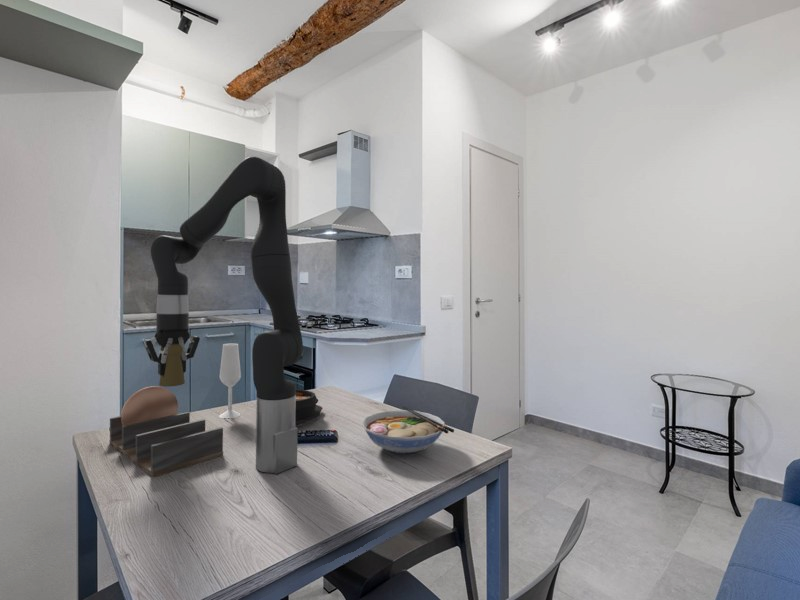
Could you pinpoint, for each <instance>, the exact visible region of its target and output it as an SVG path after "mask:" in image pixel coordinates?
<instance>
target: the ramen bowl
mask: <svg viewBox="0 0 800 600" xmlns="http://www.w3.org/2000/svg"><path fill="white" fill-rule="evenodd" d="M402 408H403V409H395V410H384V411H379V412H374V413H372V414H370V415H368V416H366V417H364V418H363V420H362V421H361V424H362V426H363V428H364V430H365V432H366V434H367V435H368V437H369V439H370V440H371V441H372V442H373V444H375V445H377V446H378V447H381V448H382V449H384V450H386V451H389V452H390V451H391V452H393V453H394V452H396V453H395V454H399V453H403V454H402V455H406V454H405V453H408V454H411V453H412V452H413V453H416V452H420V451H422V450H425V449H427V448H429V447H431V446H432V445H433V444H434V443H435V442H436V441H437V440H438V439H439V438H440V436H441V435H442V434H443V433H445V434H449V432H451V433H454V432H455V429H454V428H451V427H449V426H447V425H445V424H446V423H445V421H444V420H442V418H440V417H439V416H437V415H434V414H431V413H429V412H422V411H418V410H412V409H411V408H408V407H406V406H405V405H404V406H402ZM413 453H412V454H413Z"/></svg>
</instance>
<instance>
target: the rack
mask: <svg viewBox="0 0 800 600" xmlns="http://www.w3.org/2000/svg"><path fill="white" fill-rule="evenodd" d="M177 399H178V398H177V397H176V394H174V393H173V392H172V391H171V390H170V389H168V388H166V387H164V386H160V385H152V386H146V387H143V388H141V389H139V390H137V391H135V392H133V394H131V395H130V396H129V398H128V399H126V401H125V403H124V404H123V407H122V410H121V413H120V415H119V416H113V417H110V418H109V444H110V443H111V444H112V445H113V447H114V448H115V449H116V448H117V449H116V450H117V451H119V452H120V451H121V452H122V455H124V456H125V457H127V458H128V459H129V460H130V459H131V462H133V463H134V464H136V465H137V466H138V467H139V468H141V469H142V470H143V471H145V472H146V473H147V474H148V475H149V476H151V477H153V478H154V477H159V476H160V475H164V474H167V473H171V472H175V471H177V470H181V469H183V468H186V467H190V466H192V465H196V464H199V463H202V462H205V461H209V460H212V459H215V458H219V457H222V456H223V455H224V450H223V449H224V428H223V427H222V426H220V427H216V428H213V429H209V430H206V419H205V418H202V419H197V420H194V421H190V416H191V415H190V414H191V413H190V412H191V411H185V412H182V413H178V410H179V402H178V400H177ZM111 444H110V445H111ZM112 445H111V446H112ZM121 452H120V453H121Z"/></svg>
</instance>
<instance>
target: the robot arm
mask: <svg viewBox="0 0 800 600" xmlns="http://www.w3.org/2000/svg"><path fill="white" fill-rule="evenodd" d="M286 193H287V192H286V179H285V176H284V174H283V172H282V171H281V169H279V167H277V166H275V165H274V164H272V163H270V162H269V161H266V160H264V159H263V158H260V157H257V156H249V157H246V158H244V159H243V160H242V161H241V162H239V163H238V164H237V165H236V167H234V169H233V170H232V171H231V172H230V174H229V175H228V177H227V178H226V179H225V180H224V181H223V182H222V184H221V185H220V186H219V187H218V189H217V190H215V192H214V193H213V195H212V196H211V197H210V198H209V199H208V201H207V202H205V204H203V205H202V206H201V207H200V208H199V209H198V210H197V211H195V213H193V214H192V215H191V216H189V217H188V218H187V219H185V221H184V222H183V223H181V225H180V227H179V234H180V235H181V236H180V237H177V236H173V235H172V236H170V235H164V234H163V235H159V236H157V237H155V238H154V240H153V241H152V243H151V246H150V257H151V261H152V264H153V267H154V272H155V274H156V278H157V299H156V308H155V312H156V318H155V319H156V324H155V325H156V326H155V329H156V332H155V335H154V337H151V338H149V339H147V338H145V339H144V340H143V341H142V344H143V345H144V348H145V351H146V353H147V355H148V358H149V360H150V361H152V362H154V363H155V362H156V363H157V373H158V375H159V376H161V375H163V377H164V374H165V368H166V363H165V362H166V359H167V354H168V352H167V350H168V348H169V346H171V344H179V345H182V348H183V351H182V354H181V359H182V367H183V374H185V373H186V371H187V360H189V359H192V358H194V357H195V353H196V351H197V349H198V346H199V343H200V340H201V338H200V337H199V336H196V335H191V334H190V332H189V327H190V326H189V322H190V321H189V320H190V319H189V318H190V317H189V316H190V315H189V314H190V309H189V308H190V307H189V305H190V304H189V303H190V302H189V293H188V292H189V290H188V289H189V278H188V275H186V274H185V273H183V272H180V271H179V270H178V267H177V265H176V264H178V265H179V264H180V265H182V264H183V265H184V264H187V263H189V262H191V261H192V260H194V259H195V258H196V257H197V255H198V253H199V252H200V251H201V249H202V248H203V247H204V245H205V243H207V242H208V241H210V239H212V238H213V237H215V236H216V235H217V234H218V233H219V232H220V231H221V230H222V229H223V228H224V226H225V224H226V223H227V222H228V218H229V216H230V213H231V212H232V210H233V208H235V206H236V205H237V204H238V203H240V202H241V201H243V200H244V199H246V198H248V197H249V196H251V197H253V198H256V200H257V204H258V212H259V214H258V215H259V224H258V229H257V231H256V233H255V236H254V239H253V240H252V241H253V242H252V245H251V250H250V259H251V269H252V276H253V280H254V282H255V284H256V287H257V288H258V290H259V291H260V293H261V295H262V297H263V298H264V300H265V302H266V303H267V305H268V307H269V309H270V312H271V316H272V321H273V330H267V331H262V332H260V333H258V334H257V335H256V337H255V339H254V340H253V344H252V351H251V352H252V354H251V357H252V359H251V361H252V379H253V385H254V387H255V390H256V409H255V413H256V415H255V416H256V417H255V419H256V420H255V468H256V470H257V471H259V472H262V473H269V474H276V475H277V474H279V473H282V472H284V471H287V470H290V469H292V468H295V467H297V466H298V434H299V433H298V431H299V430H298V427H296V425H295V415H296V390H297V386H296V383H295V382H294V381H292V380H289V379H286V378H285V372H284V371H285V370H284V367H289V366H292V365H294V364H296V363H298V362H299V361H300V360H301V358H302V355H303V350H304V342H303V336H302V331H301V326H300V321H299V318H298V312H297V306H296V300H295V294H294V284H293V276H292V264H291V255H290V254H291V253H290V248H289V239H288V237H289V236H288V227H287V218H286V217H287V215H286V213H287V211H286V207H287V206H286V203H287V202H286V201H287V200H286V199H287V198H286ZM187 342H189V344H188V346H187V349H186V347H185V345H186V344H187ZM156 343H157V344H158V345H159V351H158V354H157V352H156V349H155V346H156ZM161 348H164V351H161Z"/></svg>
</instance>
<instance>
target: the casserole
mask: <svg viewBox="0 0 800 600" xmlns="http://www.w3.org/2000/svg"><path fill="white" fill-rule="evenodd" d="M318 403H319V399H318V398H317V396H316V393H315V392H313V391H310V390H305V389H296V415H295V426H297V425H302V424H305V423H308V422H311V421H314V420H316V419H317V418H319V417H320V416H321V412H322V410H323V406H322V405H321V406H320V405H318Z"/></svg>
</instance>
